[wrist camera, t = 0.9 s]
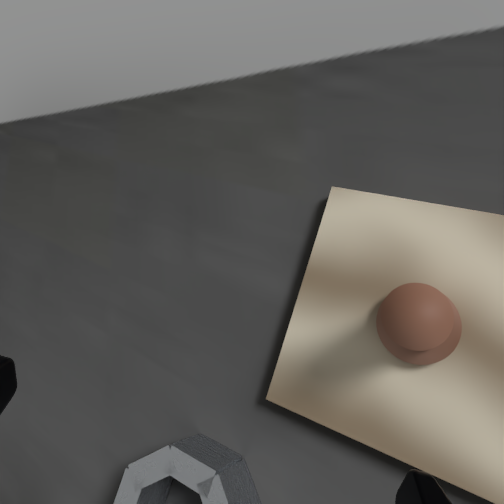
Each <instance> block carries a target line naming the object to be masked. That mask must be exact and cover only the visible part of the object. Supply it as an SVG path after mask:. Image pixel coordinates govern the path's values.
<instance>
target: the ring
mask: <svg viewBox="0 0 504 504" xmlns="http://www.w3.org/2000/svg"><path fill="white" fill-rule="evenodd" d="M241 458H242V456H241V455H239V454H237V453H236V452H234V451H232V450H230V449H228V448H226V447H225V446H223V445H221V444H219V443H217V442H215V441H214V440H212V439H210V438H208V437H206V436H204V435H202V434H200V435H199V434H197V435H195V436H192V437H189V438H187V439H184V440H181V441H178V442H176V443H173V444H170V445H168V446H166V447H164V448H162V449H160V450H158V451H156V452H154V453H152V454H149V455H147V456H145V457H143V458H141V459H139V460H137V461H135V462H133V463H131V464H129V465H128V467H126V469H125V472H124V475H123V478H122V481H121V484H120V486H119V489H118V492H117V495H116V498H115V501H114V504H165V501H166V498H167V495H168V492H169V489H170V486H171V483H172V480H173V478H175V479H176V480H178V481H179V482H181V483H183V484H184V485H186V486H187V487H189V488H191V489H192V490H194V491H195V492H197V493H198V494H200V497H201V500H202V504H261V503H260V500H259V497H258V494H257V492H256V489H255V486H254V484H253V481H252V478H251V476H250V473H249V470H248V467H247V465H246V462H245V459H243V460H241Z"/></svg>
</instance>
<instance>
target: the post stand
mask: <svg viewBox="0 0 504 504" xmlns="http://www.w3.org/2000/svg"><path fill="white" fill-rule="evenodd" d="M266 400H269V401H271V402H273V403H275V404H277V405H280V406H282V407H284V408H286V409H288V410H291V411H293V412H295V413H297V414H299V415H302V416H304V417H306V418H308V419H310V420H313V421H315V422H317V423H319V424H321V425H324V426H326V427H328V428H330V429H332V430H335V431H337V432H339V433H341V434H343V435H346V436H348V437H350V438H352V439H354V440H357V441H359V442H361V443H363V444H365V445H367V446H370V447H372V448H374V449H376V450H378V451H381V452H383V453H385V454H387V455H389V456H392V457H394V458H396V459H398V460H400V461H403V462H405V463H407V464H409V465H411V466H414V467H416V468H418V469H420V470H422V471H425V472H427V473H429V474H431V475H433V476H436V477H438V478H440V479H442V480H444V481H447V482H449V483H451V484H453V485H455V486H458V487H460V488H462V489H464V490H466V491H469V492H471V493H473V494H475V495H477V496H480V497H482V498H484V499H486V500H488V501H491V502H493V503H495V504H504V215H499V214H493V213H487V212H481V211H475V210H469V209H463V208H457V207H451V206H445V205H439V204H433V203H427V202H421V201H416V200H410V199H404V198H398V197H392V196H386V195H380V194H374V193H368V192H362V191H356V190H350V189H344V188H338V187H332V188H331V192H330V195H329V198H328V201H327V205H326V208H325V211H324V214H323V217H322V221H321V224H320V227H319V230H318V233H317V237H316V240H315V243H314V246H313V249H312V253H311V256H310V259H309V262H308V265H307V269H306V272H305V275H304V278H303V282H302V285H301V288H300V291H299V294H298V298H297V301H296V304H295V307H294V310H293V314H292V317H291V320H290V323H289V326H288V330H287V333H286V336H285V339H284V342H283V346H282V349H281V352H280V355H279V359H278V362H277V365H276V368H275V371H274V375H273V378H272V381H271V384H270V387H269V391H268V394H267V397H266Z"/></svg>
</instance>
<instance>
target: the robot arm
mask: <svg viewBox="0 0 504 504" xmlns="http://www.w3.org/2000/svg"><path fill="white" fill-rule="evenodd" d="M16 388H17V379H16V371H15V364H14V361H13V360H12V359H11V358H8V357H4V356H1V355H0V415H1V413H2V412H3V410H4V409H5V407H6V406H7V404H8V403H9V401H10V400H11V398H12V397H13V395H14V393H15V391H16ZM395 504H452V503H451V501H450V500H449V498H448V497H447V496H446V494H445V493H444V491H443V490H442V488H441V487H440V485H439V484H438V482H437V481H436V479H435V478H434V477H433V476H432V475H431V474H429V473H427V472H423V471H419V470H416V469H411V470H409V472H408V473H407V475H406V477H405V479H404V480H403V482H402V484H401V486H400V488H399V489H398V491H397V494H396V501H395Z"/></svg>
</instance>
